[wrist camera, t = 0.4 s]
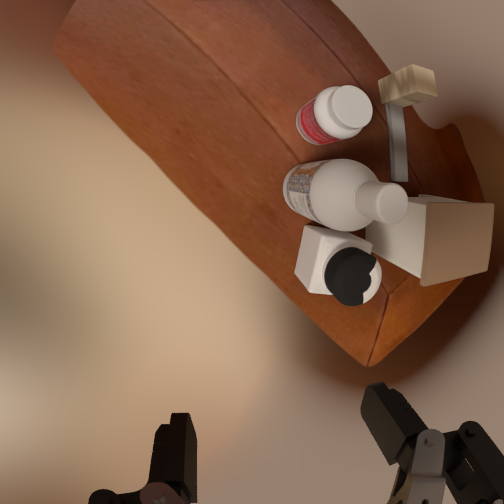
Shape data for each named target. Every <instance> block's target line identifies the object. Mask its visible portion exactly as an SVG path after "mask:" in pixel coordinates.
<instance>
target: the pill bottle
mask: <svg viewBox="0 0 504 504" xmlns="http://www.w3.org/2000/svg"><path fill="white" fill-rule="evenodd" d="M372 113H373V110H372V104H371V102H370V100H369V98H368V96H367V95H366V94H365V93H364V92H363V91H362V90H361V89H359V88H357V87H355V86H350V85H346V86H342V87H329V88H327V89H325V90H323V91H321V92H320V93H319V94H318V95H316V96H315V97H314V98H313V99H311V100H310V101H309V102H307V103H306V104H305V105H304V106H302V108H301V109H300V110H299V112H298V114H297V117H296V125H297V129H298V131H299V133H300V134H301V136H302V137H303V138H304V139H305V140H306V141H308V142H310V143H312V144H315V145H325V144H329V143H333V142H337V141H340V140H344V139H347V138H351V137H353V136H355V135H356V134H358V133H359V132H360V131H361V129H362V128H363V127H364V126H366V125H367V124H368V123H369V122H370V120H371V118H372Z"/></svg>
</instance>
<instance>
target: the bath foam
mask: <svg viewBox="0 0 504 504" xmlns="http://www.w3.org/2000/svg"><path fill="white" fill-rule="evenodd" d="M283 194H284V198H285V201H286V203H287V204H288V205H289V207H290V208H291V209H292V210H294V211H295V212H297V213H299V214H301V215H303V216H305V217H307V218H309V219H311V220H314V221H316V222H318V223H320V224H322V225H324V226H326V227H328V228H331V229H333V230H337V231H355V230H359V229H362V228H364V227H366V226H367V225H369V224H370V223H371V222H372V221H373V220H376V221H379V222H382V223H385V224H389V225H393V224H397V223H399V222H400V221H402V220H403V219H404V217H405V216H406V214H407V211H408V205H409V202H408V196H407V194H406V192H405V190H404V189H403V188H402V187H401V186H400V185H398V184H395V183H384V182H379V180H378V179H377V177H376V176H375V174H374V173H373V172H372V171H371V170H370V169H369V168H368V167H366V166H365V165H363V164H361V163H359V162H357V161H354V160H350V159H332V160H324V161H317V162H310V163H304V164H300V165H298V166H296V167H294V168H293V169H291V170H290V171H289V173H288V174H287V176H286V177H285V180H284V183H283Z"/></svg>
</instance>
